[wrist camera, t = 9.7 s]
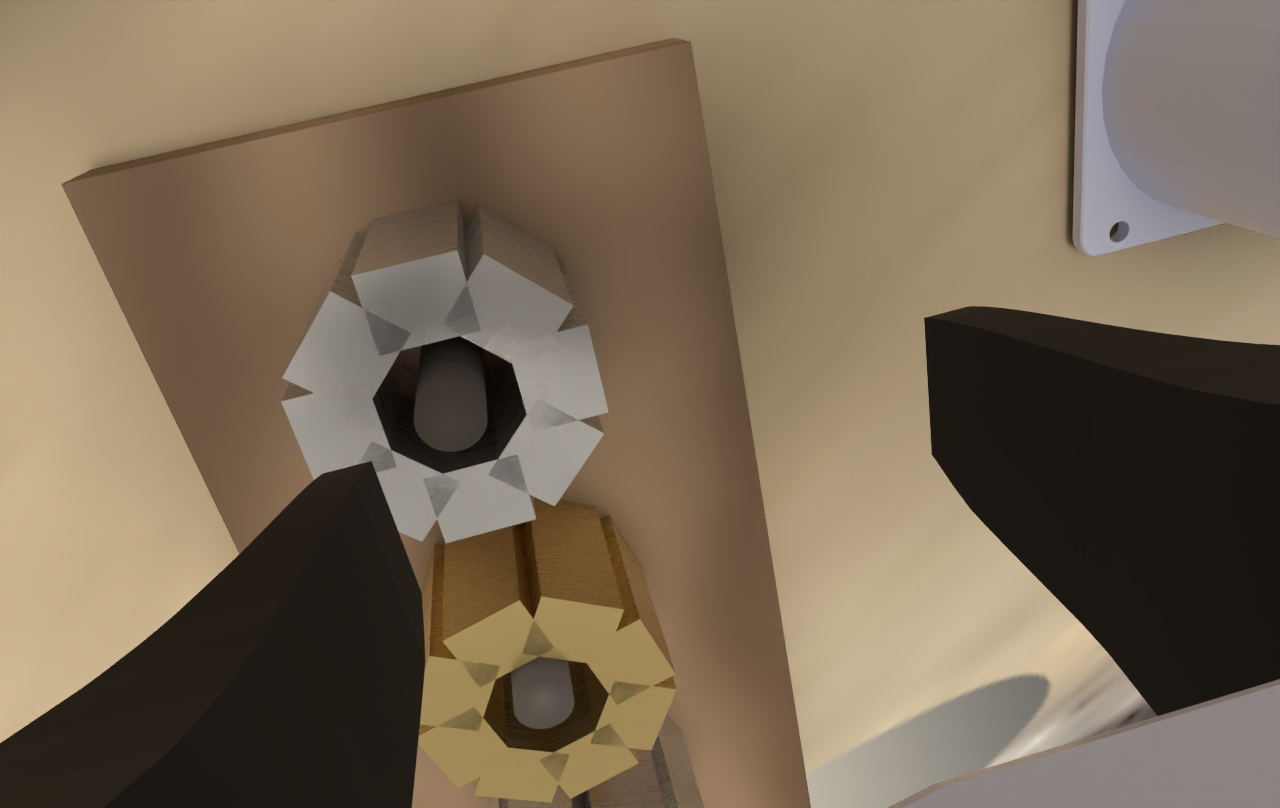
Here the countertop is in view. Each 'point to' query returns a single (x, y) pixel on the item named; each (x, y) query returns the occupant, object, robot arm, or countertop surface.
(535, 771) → the brass gear
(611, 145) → the gear board
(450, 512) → the steel gear
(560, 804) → the steel gear
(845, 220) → the countertop surface
